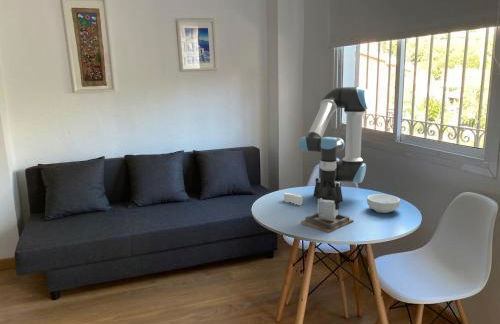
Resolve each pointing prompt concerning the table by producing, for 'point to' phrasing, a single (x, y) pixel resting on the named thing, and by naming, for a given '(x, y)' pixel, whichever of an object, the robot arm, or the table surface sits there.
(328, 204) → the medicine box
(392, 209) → the cereal bowl
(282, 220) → the table surface
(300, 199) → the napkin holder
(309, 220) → the wooden tray
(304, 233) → the table surface
